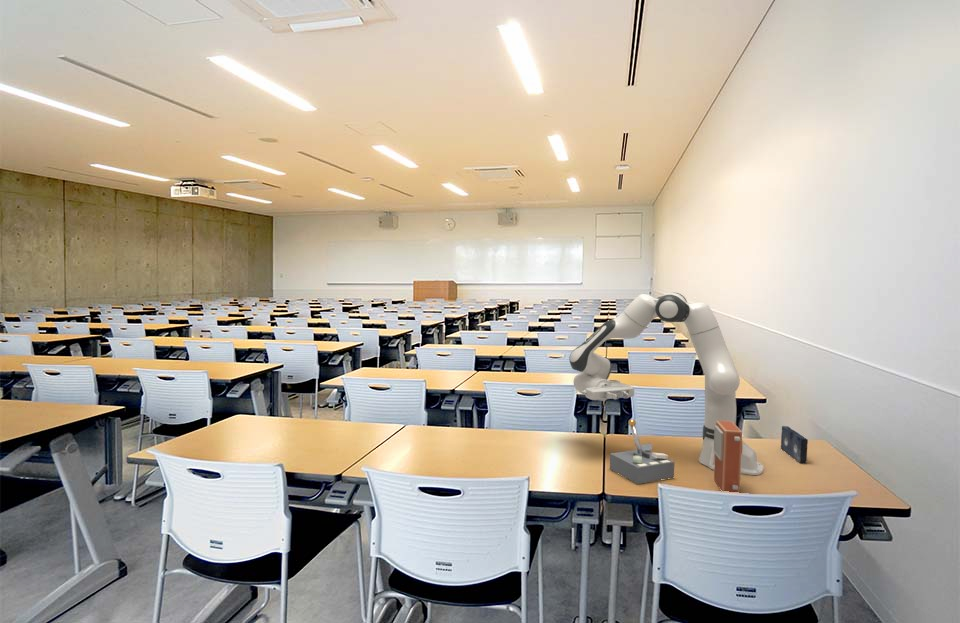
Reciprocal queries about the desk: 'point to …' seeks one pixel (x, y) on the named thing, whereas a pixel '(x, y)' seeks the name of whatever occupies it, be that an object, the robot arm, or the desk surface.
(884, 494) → the desk surface
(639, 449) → the lever
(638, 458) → the button
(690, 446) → the desk surface
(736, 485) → the orange box
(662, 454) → the block
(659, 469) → the console
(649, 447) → the grey bar
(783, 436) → the vhs cassette tape
